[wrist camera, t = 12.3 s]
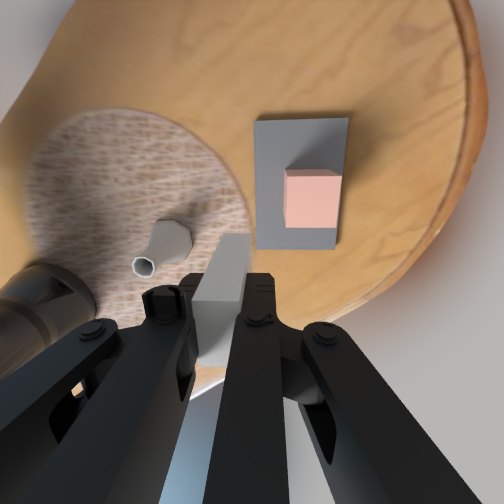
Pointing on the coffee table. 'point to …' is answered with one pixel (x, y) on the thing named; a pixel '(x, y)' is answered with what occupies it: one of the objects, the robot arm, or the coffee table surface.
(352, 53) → the coffee table surface
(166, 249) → the flask
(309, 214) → the pink upright block
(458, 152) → the coffee table surface
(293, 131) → the post board
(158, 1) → the coffee table surface
